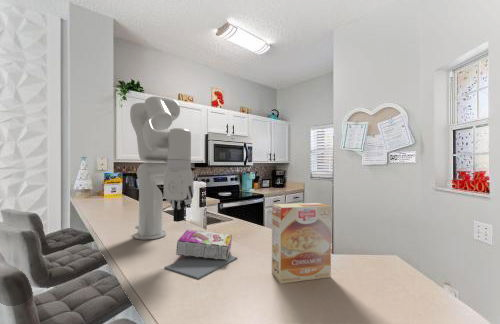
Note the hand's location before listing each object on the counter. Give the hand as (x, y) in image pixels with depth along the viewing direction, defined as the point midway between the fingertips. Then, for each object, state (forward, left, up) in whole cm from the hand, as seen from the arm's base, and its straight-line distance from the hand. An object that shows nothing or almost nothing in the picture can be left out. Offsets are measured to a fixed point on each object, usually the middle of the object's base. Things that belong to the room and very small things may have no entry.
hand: (178, 220), depth 83 cm
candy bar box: (0, +1, -7) cm, 7 cm away
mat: (+11, 0, -12) cm, 16 cm away
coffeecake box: (+39, +8, -12) cm, 42 cm away
